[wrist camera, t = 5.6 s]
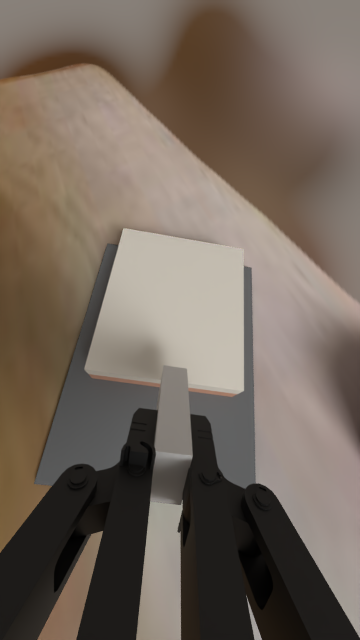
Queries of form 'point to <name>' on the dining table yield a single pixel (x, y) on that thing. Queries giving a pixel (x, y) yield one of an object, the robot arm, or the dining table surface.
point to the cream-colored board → (172, 314)
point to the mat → (142, 406)
